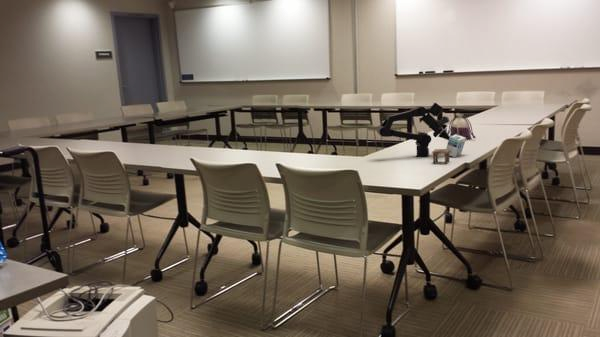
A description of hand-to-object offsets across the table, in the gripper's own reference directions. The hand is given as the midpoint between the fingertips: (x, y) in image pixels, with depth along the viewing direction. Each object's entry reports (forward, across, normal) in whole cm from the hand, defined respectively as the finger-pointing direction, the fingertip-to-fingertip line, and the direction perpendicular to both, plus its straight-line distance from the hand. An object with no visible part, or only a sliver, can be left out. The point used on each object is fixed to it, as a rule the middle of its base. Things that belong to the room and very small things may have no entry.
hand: (451, 140), depth 311 cm
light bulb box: (+7, 0, +5) cm, 9 cm away
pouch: (+4, +65, +9) cm, 66 cm away
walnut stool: (+5, -22, +8) cm, 24 cm away
